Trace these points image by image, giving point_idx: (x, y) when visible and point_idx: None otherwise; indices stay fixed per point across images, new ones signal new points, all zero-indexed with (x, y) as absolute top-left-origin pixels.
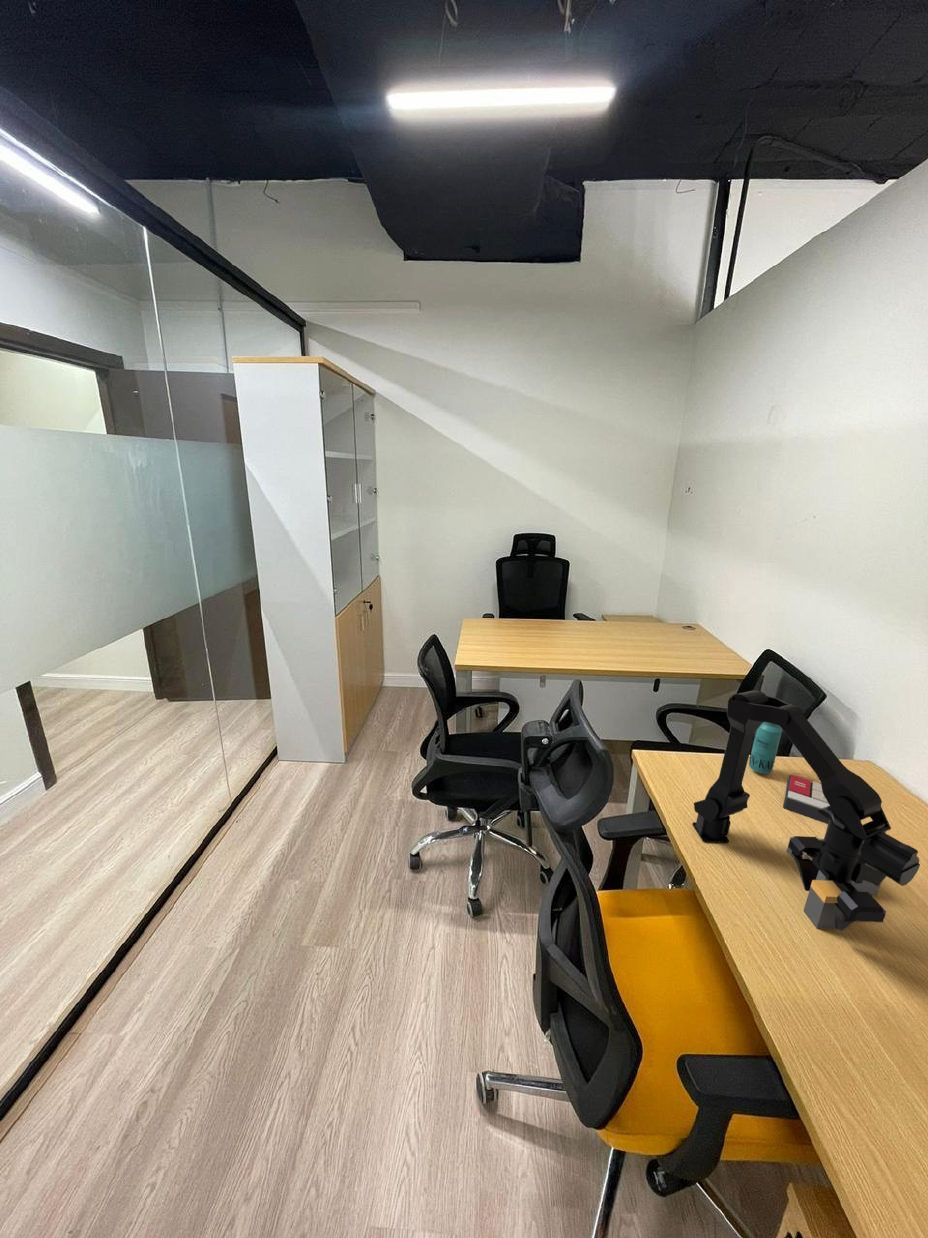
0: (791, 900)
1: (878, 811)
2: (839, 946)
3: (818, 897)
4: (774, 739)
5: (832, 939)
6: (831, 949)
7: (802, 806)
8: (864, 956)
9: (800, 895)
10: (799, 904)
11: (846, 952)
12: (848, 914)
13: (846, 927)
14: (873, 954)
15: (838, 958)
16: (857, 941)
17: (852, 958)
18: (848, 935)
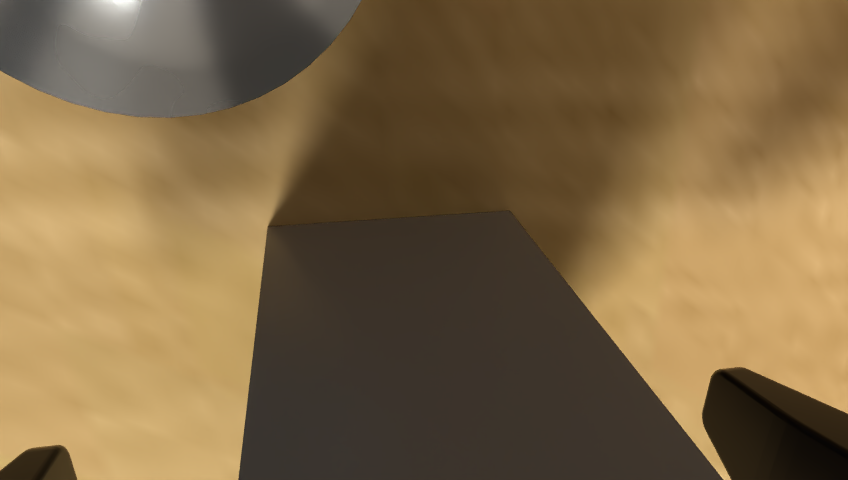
0: (150, 473)
1: None
2: (687, 300)
3: None
4: None
5: (615, 321)
6: (700, 380)
7: None
8: (818, 128)
9: (27, 356)
10: (194, 422)
11: (747, 274)
12: None
13: (821, 405)
14: (826, 4)
15: (776, 370)
16: (666, 73)
17: (804, 258)
18: (588, 127)
